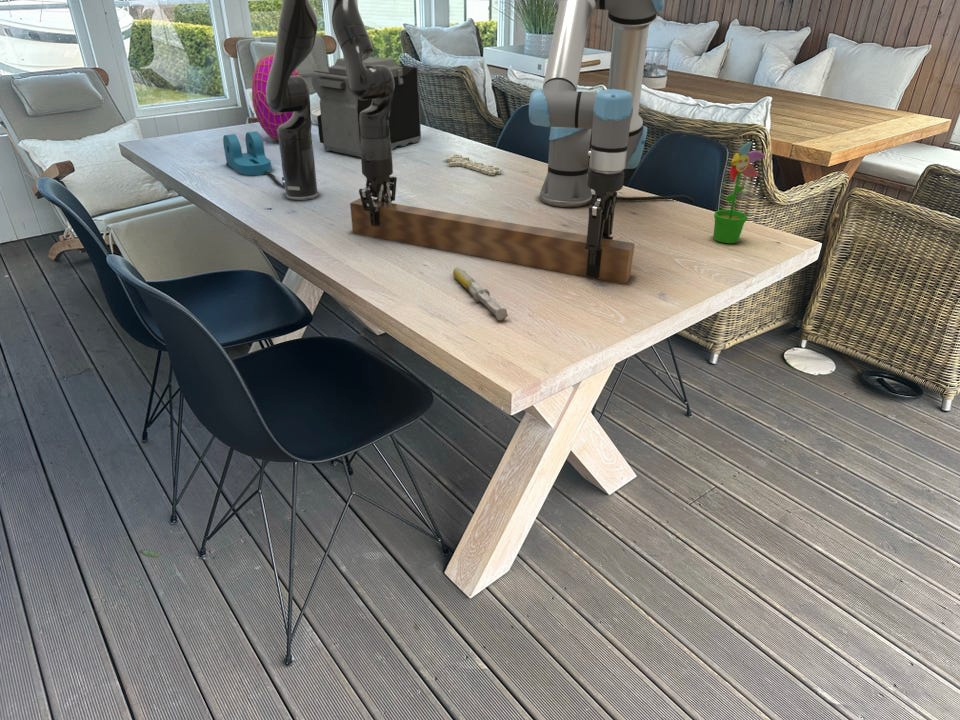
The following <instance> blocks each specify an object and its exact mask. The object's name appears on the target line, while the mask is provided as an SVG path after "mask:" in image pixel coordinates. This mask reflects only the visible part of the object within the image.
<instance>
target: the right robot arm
mask: <svg viewBox="0 0 960 720" xmlns="http://www.w3.org/2000/svg"><path fill="white" fill-rule="evenodd" d="M664 6H665V0H555V2H554V7H555V12H556V13H557V14H556V18H555V22H554V23H555V24H554V28H553V33H552V38H551V44H550V48H549V55H548V59H547V62H546V63H547V64H546V69H545V74H544V78H543V79H544V80H543V84H542V88H537V89H533V90H532V91H531V93H530V96H529V102H528V119H529V122H530V124H532V125H533V126H538V127H545V128H550V129H549V130H550V131H549V137H548V140H549V144H548V145H549V146H548V160H547V173H546V176H545V178H544V181H543V184H542V187H541V189H540V192H539V200H540V202H542V203H543V204H546V205H549V206H553V207H558V208H559V207H560V208H580V207H584V206H588V205H589V204H591V205H589V206H588V221H587V222H588V223H587V234H586V235H587V242H586V246H585V249H588V250H589V252H588V262H587V272H586V276H589V277H588V278H590V277H595V278H598V277H599V270H600V260H601V251H602V249H601V241H602V238H606V239H612V240H614V237H613V236H612V234H613V226H614V218H615V209H616V201H629V202H630V201H632V202H633V201H655V200H656V201H657V200H675V199H684V200H687V201H689V202H690V203H691V204H695V203H696V202H695V200H694V199H693V198H692V197H691V196H689V195H687V194H674V195H654V196H618V192H619V191H621V190H622V189H623V187H624V179H625V171H624V170H626V169H628V170H630V169H631V170H633V169H636V168H637V167H638V166H639V165H640V162H641V159H642V157H643V156H642V155H643V152H644V148H645V144H646V140H647V135H648V126H646V125H644V120H643V118H642V117H641V116H640V115H639V110H640V102H641V95H642V87H643V78H644V70H645V69H644V68H645V62H646V53H647V45H648V37H649V30H650V29H649V27H650V25H651V24H653V23H654V22H655V21H656V20H657V16H658V15H657V14H658V13H660V12H663V11H664ZM596 10H600V11H601V10H603V11H604V10H605V11H607V12H608V14H607V19H608V20H609V22H610V23H611V24H612V25H613V29H612V38H611V51H610V62H609V63H610V64H609V75H608V87H607V89H602V90H598V92H597V91H596V92H595V91H578V85H579V80H580V74H581V68H582V63H583V58H584V52H585V46H586V39H587V34H588V29H589V23H590V18H592V17H593V15H594V14H595V11H596ZM592 190H593V191H594V192H595V193H592ZM595 278H594V279H595Z"/></svg>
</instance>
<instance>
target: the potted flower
mask: <svg viewBox="0 0 960 720" xmlns="http://www.w3.org/2000/svg"><path fill="white" fill-rule="evenodd" d="M752 145H753V141H749V142H747V143H744V144H743V145H742V146H741V148H740V149H739V151H738V152H736V153H735V154H734V155H733V157H732V158H731V159H732V160H731V162H730V164H731V167H730V169H729V177H730V179H731V181H732V182H735V186H734V190H733V194H727V196H726V197H725V201H726V202H728V203H731V205H730V209H719V210H716V211H714V214H713V215H714V216H713V218H714V225H713V240H715V241H716V242H719V243H723V244H735V243H738V242H739V240H740V237H741V234H742V231H743V227H744V225H745V223H746V221H747V218H748V215H747V214H746V213H744V212H742V211H740V210H734V208H735V203H736V198H737V194H739V193H740V192H742V191H743V190H744V186H739V183H740V178H741V173H742V175H743V176H745V177H747V178H756V177H759V176H760V174H759V173H758V170H757V169H756V168H755V167H754V165H752V164H751V163H754V162H757V161H759V160H760V159H763V158H765V157H766V154H765V153H763V152H761V151H759V150H751V148H752Z"/></svg>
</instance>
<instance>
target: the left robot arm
mask: <svg viewBox="0 0 960 720" xmlns="http://www.w3.org/2000/svg"><path fill="white" fill-rule="evenodd" d="M278 18H279V20H278V25H277V34H276V41H275V49H274V53H273V55H274V58H273V62H272V66H271V69H270V73H269V77H268V80H267V85H266V99H267V103H268V106H269V108H270V109H271V110H272V111H273V112H276V113H288V112H293V115H292V117H291V118H290V119H289V120H288V121H286V122H285V123H283V124H281V125H280V126H279V127H278V129H277V131H278V139H279V140H278V145H279V153H280V161H281V169H282V177H281V182H282V183H281V182H280V181H279V180H278V179H277V178H276V176H275V175H274V174H273V173H271V172H267V171H265V174H264V175H268V176H270V177H271V178H272V180H273V181H274V182H275V184H277V186H279V187H280V188H282V189H284V191H285V198H286V199H288V200H291V201H307V200H312V199H315V198H318V197H319V191H318V182H317V173H316V172H317V171H316V164H315V156H314V155H315V154H314V147H313V137H312V118H311V112H312V110H311V97H310V95H311V94H310V90H309V86H308V83H307V80H306V79H305V78H304V77H303V76H301V75H300V76H291V74H292V73H293V71H294V70H295V69H298V67H299V66H300V65H301V64H302V63H303V62H304V61H305V60H306V59H307V57H309V55H310V54H311V52H312V51H313V48H314V46H315V42H316V37H317V32H318V27H319V20H318V17H317V13H316V11H315V8H314V6H313V5H312V3H311V1H310V0H282V2H281V9H280V14H279V17H278ZM331 24H332V30H333V33H334V35H335V38H336V40H337V42H338V43H337V44H338V45H339V47H340V50H341V52H342V55H343V58H344V60H345V66H346V72H347V80H348V86H349V89H350V91H351V92H352V94H353V95H354V96H355V97H356V98H357V99H359V100H369V99H373V100H372V103H371V106H370V107H369V108H367V109H365V110H363V111H362V112H360V115H359V124H360V151H361V157H360V164H361V173H362V175H363V176H364V177H365V178H366V183H365V187H364V188H359V189H358V194H359V197H360V198H361V201H362V205H363V209H364V211H369V212H370V223H371V225H372V226H379V225H380V223H379V212H378V209H379V203H381V202H387V203H393V202H394V201H396V193H397V182H398V181H397V179H398V178H397V176H392V175H393V174H394V167H393V164H394V163H393V149H392V146H391V140H390V128H389V115H390V110H391V105H392V100H393V95H394V87H395V84H394V78H393V75H392V72H391V71H390V69H389V68H388V67H386V66H384V65H375V66H366V67H365V66H364V64H363V60H365V59H367V58H368V57H372V54H373V52H374V46H373V43H372V40H371V38H370V36H369V33H368V31H367V29H366V25H365V23H364V22H363V19H362V16H361V14H360V11H359V8H358V4H357V1H356V0H333V5H332V12H331ZM225 165H226V166H228V165H229V164H228V163H227V162H226V163H225ZM373 202H375V207H374V205H373ZM367 204H368V206H367Z"/></svg>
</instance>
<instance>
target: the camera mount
mask: <svg viewBox="0 0 960 720" xmlns="http://www.w3.org/2000/svg"><path fill="white" fill-rule="evenodd" d="M222 140H223V141H222V143H223V149H224V150H223V151H224V156H225V161H226V163H228V164H229V165H227V166H228V167H230V168H231V169H232V170H234V171H236V172H237V173H238V174H239V175H244V176H260V175H266V174H265V171H267V172H269V173H271V172H272V164H271V159H270V158H268V157H267V156H266V153H265V145H264V141H263V139H262V136H261V134H260V132H258V131H247V132H246V133H245V146H246V152H243V151H242V150H243V149H242V146H241V142H240V140H239V138H238V135H236V134H235V133H231V134H224V135H223V138H222Z"/></svg>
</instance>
